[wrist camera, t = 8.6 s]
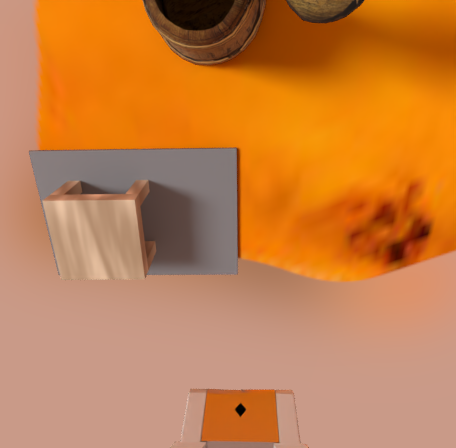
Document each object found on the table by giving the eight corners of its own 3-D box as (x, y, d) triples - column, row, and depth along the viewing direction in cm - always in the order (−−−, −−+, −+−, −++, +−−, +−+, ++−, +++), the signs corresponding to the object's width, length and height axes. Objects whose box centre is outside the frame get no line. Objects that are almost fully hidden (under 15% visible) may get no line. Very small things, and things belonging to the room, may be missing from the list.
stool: (134, 199, 32) (42, 200, 32) (144, 279, 35) (61, 279, 36) (148, 179, 37) (68, 180, 37) (156, 250, 40) (82, 251, 41)
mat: (236, 147, 36) (236, 148, 36) (237, 272, 42) (237, 274, 41) (30, 150, 36) (28, 151, 36) (59, 273, 42) (58, 275, 42)
